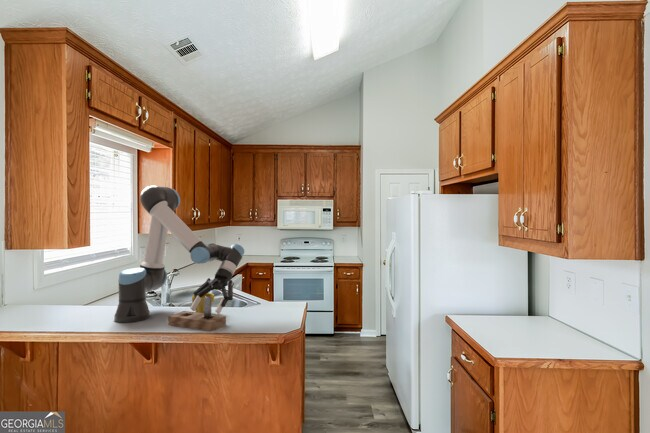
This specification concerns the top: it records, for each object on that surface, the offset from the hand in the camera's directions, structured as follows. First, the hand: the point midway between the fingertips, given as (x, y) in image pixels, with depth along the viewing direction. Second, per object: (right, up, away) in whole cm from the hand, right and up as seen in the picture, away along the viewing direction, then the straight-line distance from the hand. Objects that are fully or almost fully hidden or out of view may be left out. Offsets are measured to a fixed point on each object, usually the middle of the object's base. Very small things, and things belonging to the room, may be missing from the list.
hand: (204, 311), depth 164 cm
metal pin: (+1, -6, +2) cm, 7 cm away
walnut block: (-5, -7, +4) cm, 10 cm away
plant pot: (-8, -7, +22) cm, 24 cm away
